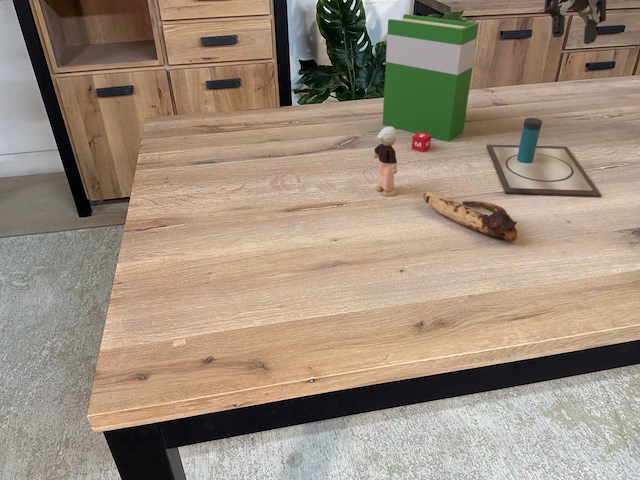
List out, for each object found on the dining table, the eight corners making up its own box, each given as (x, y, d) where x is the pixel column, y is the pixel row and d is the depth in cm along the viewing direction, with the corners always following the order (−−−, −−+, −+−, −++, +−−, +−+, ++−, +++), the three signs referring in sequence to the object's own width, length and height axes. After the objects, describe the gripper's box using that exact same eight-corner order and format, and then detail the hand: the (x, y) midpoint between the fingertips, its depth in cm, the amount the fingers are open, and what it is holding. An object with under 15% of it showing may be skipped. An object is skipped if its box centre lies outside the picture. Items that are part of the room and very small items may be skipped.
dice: (423, 152, 116) (424, 139, 114) (411, 149, 117) (412, 136, 116) (430, 147, 118) (431, 134, 116) (418, 144, 119) (419, 131, 118)
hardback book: (382, 124, 129) (388, 19, 116) (398, 115, 134) (405, 14, 121) (448, 141, 120) (463, 29, 107) (463, 131, 125) (478, 23, 112)
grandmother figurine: (405, 194, 100) (411, 130, 93) (390, 200, 98) (394, 136, 91) (379, 179, 105) (382, 118, 98) (363, 185, 103) (366, 122, 96)
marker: (531, 156, 111) (539, 117, 107) (535, 163, 109) (544, 124, 104) (515, 156, 112) (523, 117, 107) (518, 163, 109) (526, 123, 104)
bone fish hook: (533, 232, 89) (443, 193, 100) (540, 207, 87) (447, 171, 97) (504, 253, 84) (413, 210, 94) (511, 227, 81) (416, 186, 92)
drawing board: (566, 148, 116) (566, 145, 116) (600, 197, 98) (601, 194, 98) (486, 146, 118) (487, 143, 117) (505, 194, 100) (506, 191, 99)
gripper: (566, -58, 102) (562, 28, 103) (620, -42, 107) (615, 39, 108) (537, -41, 109) (533, 39, 110) (588, -27, 114) (584, 50, 115)
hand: (574, 39), depth 109 cm, fingers open, 8 cm apart
